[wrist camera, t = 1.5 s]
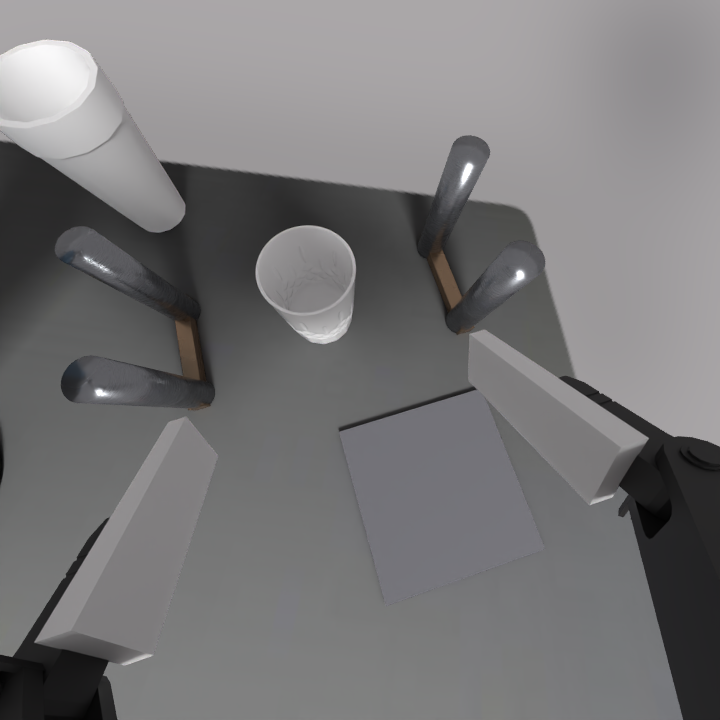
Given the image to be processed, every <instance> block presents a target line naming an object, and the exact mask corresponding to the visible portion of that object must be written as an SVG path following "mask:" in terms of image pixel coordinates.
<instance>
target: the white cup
mask: <svg viewBox="0 0 720 720" xmlns="http://www.w3.org/2000/svg"><path fill="white" fill-rule="evenodd" d="M355 277H356V263H355V258H354V255H353V252H352V250H351V249H350V247H349V245H348V244H347V243H346V242H345V240H344V239H343V238H341V237H340V236H339V235H338V234H336V233H334V232H333V231H331V230H328V229H326V228H323V227H319V226H310V225H305V226H297V227H293V228H290V229H287V230H285V231H282V232H281V233H279V234H277V235H276V236H274V237H273V238H272V239H271V240H270V241H269V242H268V243H267V244H266V245H265V246H264V248H263V249H262V251H261V253H260V255H259V257H258V260H257V264H256V281H257V285H258V287H259V290H260V292H261V293H262V295H263V296H264V298H265V299H266V300H267V301H268V302H269V303H270V304H271V306H272V307H273V308H274V309H275V310H276V311H277V312H278V313H279V314H280V315H281V316H282V317H283V319H284V320H285V321H286V322H287V323H288V324H289V325H290V326H291V327H292V328H293V329H294V330H296V331H297V332H298V333H299V334H300V335H301V336H302V337H304V338H305V339H307V340H308V341H310V342H313V343H319V344H326V343H330V342H333V341H337V340H338V339H339V338H340V337H341V336H343V335H344V334H345V333H346V332H347V330H348V328H349V325H350V323H351V321H352V312H353V305H354V295H355Z"/></svg>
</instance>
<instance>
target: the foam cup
mask: <svg viewBox="0 0 720 720" xmlns="http://www.w3.org/2000/svg"><path fill="white" fill-rule="evenodd" d="M0 131H1V132H2V133H4V134H5V135H6V136H7V137H9V138H10V139H11V140H12V141H14V142H15V143H16V144H17V145H19V146H20V147H22V148H23V149H25V150H26V151H28V152H30V153H31V154H33V155H35V156H36V157H40V158H41V159H43V160H44V161H46V162H47V163H49V164H50V165H52V166H53V167H54V168H56V169H57V170H59V171H60V172H62V173H63V174H65V175H66V176H67V177H69V178H70V179H72V180H73V181H75V182H76V183H78V184H79V185H81V186H82V187H83V188H85V189H86V190H88V191H89V192H91V193H92V194H94V195H95V196H97V197H98V198H99V199H101V200H102V201H104V202H105V203H107V204H108V205H110V206H111V207H113V208H114V209H115V210H117V211H118V212H120V213H121V214H123V215H124V216H126V217H127V218H128V219H130V220H131V221H133V222H134V223H136V224H137V225H139V226H140V227H142V228H144V229H145V230H147V231H148V232H157V233H160V232H164V231H167V230H171V229H172V228H173V227H175V226H176V225H178V224H179V223H180V222H181V220H182V218H183V217H184V215H185V206H186V205H185V203H184V201H183V199H182V197H181V196H180V194H179V192H178V191H177V189H176V188H175V186H174V184H173V183H172V181H171V180H170V178H169V176H168V175H167V173H166V172H165V170H164V168H163V167H162V165H161V164H160V162H159V160H158V159H157V157H156V156H155V154H154V153H153V151H152V149H151V148H150V146H149V144H148V143H147V141H146V140H145V138H144V137H143V135H142V133H141V132H140V130H139V128H138V127H137V125H136V124H135V122H134V121H133V119H132V117H131V116H130V114H129V113H128V111H127V109H126V108H125V106H124V102H123V101H122V98H121V97H120V95H119V93H118V91H117V89H116V88H115V86H114V85H113V84H112V82H111V81H110V80H109V78H108V77H107V76H106V74H105V73H104V71H103V70H102V69H101V67H100V66H99V65H98V63H97V62H96V61H95V59H94V58H93V56H92V55H91V54H90V52H88V51H87V50H85V49H83V48H81V47H79V46H77V45H76V44H74V43H72V42H68V41H57V40H46V39H45V40H40V41H36V42H32V43H26V44H22V45H18V46H16V47H14V48H12V49H11V50H9V51H7V52H5V53H3V54H1V55H0Z"/></svg>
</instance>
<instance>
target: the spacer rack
mask: <svg viewBox="0 0 720 720" xmlns="http://www.w3.org/2000/svg"><path fill="white" fill-rule="evenodd" d="M489 155H490V149H489V147H488V145H487V144H486V142H485V141H484V140H482V139H480V138H478V137H475V136H462V137H460V138H458V139H457V140H456V141H455V142H454V143H453V145H452V148H451V151H450V154H449V157H448V160H447V162H446V165H445V168H444V171H443V174H442V177H441V180H440V183H439V186H438V188H437V191H436V194H435V197H434V200H433V203H432V206H431V209H430V211H429V214H428V217H427V220H426V223H425V226H424V229H423V232H422V234H421V237H420V240H419V243H418V247H417V249H418V252H419V254H420V255H421V256H422V257H423V258H426V259H427V261H428V263H429V266H430V268H431V271H432V273H433V276H434V278H435V281H436V283H437V286H438V288H439V291H440V293H441V296H442V298H443V301H444V303H445V306H446V309H447V311H448V314H447V316H446V324H447V326H448V328H449V329H450V330H451V331H453V332H455V333H456V334H457V335H458V334H462V333H465V332H469V331H471V330H472V329H473V328H474V325H476V324H477V323H478V322H479V321H481V320H482V319H483V318H485V317H486V316H487V315H488V314H490V313H491V312H492V311H493V310H495V309H496V308H497V307H499V306H500V305H501V304H502V303H504V302H505V301H506V300H507V299H509V298H510V297H511V296H513V295H514V294H515V293H516V292H518V291H519V290H520V289H521V288H523V287H524V286H525V285H526V284H528V283H529V282H530V281H532V280H533V279H534V278H535V277H537V276H538V275H539V274H540V273H541V272H542V271H543V269H544V267H545V258H544V255H543V253H542V251H541V250H540V249H539V248H538V247H537V246H536V245H534V244H532V243H530V242H527V241H515V242H512V243H510V244H509V245H507V246H506V248H505V249H504V250H503V251H502V252H501V253H500V254H499V256H498V257H497V258H496V259H495V260H494V261H493V262H492V264H491V265H490V266H489V267H488V268H487V269H486V271H485V272H484V273H483V274H482V275H481V276H480V277H479V279H478V280H477V281H476V282H475V283H474V284H473V285H472V287H471V288H470V289H469V290H468V291H467V292H466V294H465V295H464V296H463V297H462V296H461V294H460V291H459V289H458V287H457V284H456V282H455V279H454V277H453V275H452V272H451V270H450V267H449V265H448V262H447V260H446V258H445V255H444V253H443V248H444V246H445V244H446V242H447V240H448V238H449V236H450V234H451V232H452V230H453V228H454V226H455V224H456V222H457V220H458V218H459V216H460V214H461V212H462V210H463V208H464V206H465V204H466V202H467V200H468V198H469V196H470V194H471V192H472V190H473V188H474V186H475V184H476V182H477V180H478V178H479V176H480V174H481V172H482V170H483V168H484V166H485V164H486V162H487V160H488V158H489ZM55 253H56V256H57V257H58V258H59V259H60V260H61V261H63V262H65V263H67V264H69V265H71V266H72V267H74V268H76V269H78V270H80V271H82V272H84V273H86V274H88V275H90V276H92V277H93V278H95V279H97V280H99V281H101V282H103V283H105V284H107V285H109V286H111V287H112V288H114V289H116V290H118V291H120V292H122V293H124V294H126V295H128V296H130V297H132V298H133V299H135V300H137V301H139V302H141V303H143V304H145V305H147V306H149V307H151V308H152V309H154V310H156V311H158V312H160V313H162V314H164V315H166V316H168V317H170V318H172V319H173V320H175V324H176V330H177V337H178V344H179V351H180V357H181V364H182V371H183V376H180V375H176V374H172V373H167V372H163V371H159V370H154V369H150V368H146V367H141V366H137V365H133V364H128V363H124V362H120V361H115V360H111V359H107V358H102V357H98V356H84V357H81V358H79V359H77V360H75V361H74V362H73V363H71V364H70V365H69V366H68V368H67V369H66V370H65V372H64V374H63V376H62V380H61V389H62V392H63V394H64V396H65V397H66V398H67V399H68V400H70V401H72V402H75V403H90V404H111V405H131V406H151V407H172V408H188V410H199V409H202V408H206V407H209V406H210V404H211V403H212V401H213V399H214V396H215V390H214V387H213V386H212V385H211V384H210V383H209V382H206V376H205V370H204V364H203V358H202V352H201V346H200V340H199V334H198V328H197V322H196V320H197V319H198V317H199V315H200V312H201V309H200V306H199V304H198V303H197V302H195V301H194V300H193V299H192V298H191V297H189V296H188V295H186V294H184V293H182V292H181V291H180V290H178V289H177V288H175V287H174V286H173V285H171V284H170V283H168V282H167V281H165V280H164V279H163V278H161V277H160V276H158V275H157V274H155V273H154V272H153V271H151V270H150V269H148V268H147V267H146V266H144V265H143V264H141V263H140V262H138V261H137V260H136V259H134V258H133V257H131V256H130V255H129V254H127V253H126V252H124V251H123V250H121V249H120V248H119V247H117V246H116V245H114V244H113V243H112V242H110V241H109V240H107V239H106V238H104V237H103V236H102V235H100V234H99V233H97V232H96V231H94V230H93V229H91V228H89V227H86V226H78V227H73V228H71V229H69V230H67V231H65V232H64V233H63V234H62V235H61V236H60V237H59V238H58V240H57V242H56V244H55Z"/></svg>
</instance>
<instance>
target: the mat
mask: <svg viewBox="0 0 720 720" xmlns="http://www.w3.org/2000/svg"><path fill="white" fill-rule="evenodd" d="M339 434H340V438H341V441H342V445H343V449H344V453H345V456H346V460H347V464H348V467H349V471H350V475H351V479H352V482H353V486H354V490H355V493H356V497H357V501H358V505H359V508H360V512H361V516H362V519H363V523H364V527H365V531H366V534H367V538H368V542H369V546H370V549H371V553H372V557H373V560H374V564H375V568H376V572H377V575H378V579H379V583H380V586H381V590H382V594H383V598H384V601H385V605H386V606H388V605H391V604H394V603H396V602H399V601H402V600H405V599H407V598H410V597H413V596H416V595H419V594H421V593H424V592H427V591H430V590H433V589H435V588H438V587H441V586H444V585H447V584H449V583H452V582H455V581H458V580H461V579H463V578H466V577H469V576H472V575H475V574H477V573H480V572H483V571H486V570H489V569H491V568H494V567H497V566H500V565H502V564H505V563H508V562H511V561H514V560H516V559H519V558H522V557H525V556H528V555H530V554H533V553H536V552H539V551H542V550H544V549H545V547H544V544H543V542H542V539H541V537H540V534H539V532H538V529H537V527H536V524H535V522H534V519H533V516H532V514H531V511H530V509H529V506H528V504H527V501H526V499H525V496H524V494H523V491H522V489H521V486H520V484H519V481H518V479H517V476H516V474H515V471H514V469H513V466H512V464H511V461H510V459H509V456H508V454H507V451H506V449H505V446H504V444H503V441H502V439H501V436H500V434H499V431H498V429H497V426H496V424H495V421H494V419H493V416H492V414H491V411H490V409H489V406H488V404H487V401H486V399H485V397H484V396H483V395H482V394H481V393H480V392H479V391H478V390H474V391H470V392H467V393H464V394H461V395H457V396H454V397H451V398H447V399H444V400H441V401H438V402H434V403H431V404H428V405H425V406H421V407H418V408H415V409H412V410H408V411H405V412H402V413H398V414H395V415H392V416H389V417H385V418H382V419H379V420H376V421H372V422H369V423H366V424H363V425H359V426H356V427H353V428H349V429H346V430H343V431H340V432H339Z"/></svg>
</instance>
